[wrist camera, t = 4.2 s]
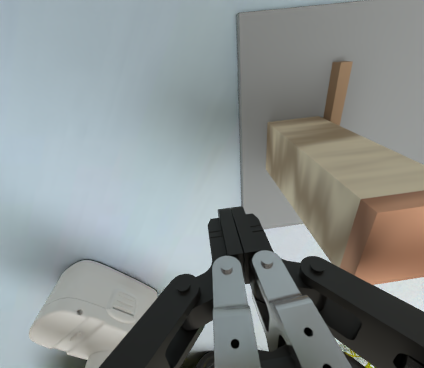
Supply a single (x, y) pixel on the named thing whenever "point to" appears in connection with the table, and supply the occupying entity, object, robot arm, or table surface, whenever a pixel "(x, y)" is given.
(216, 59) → the table surface
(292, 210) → the mat
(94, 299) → the power drill
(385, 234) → the birch block
